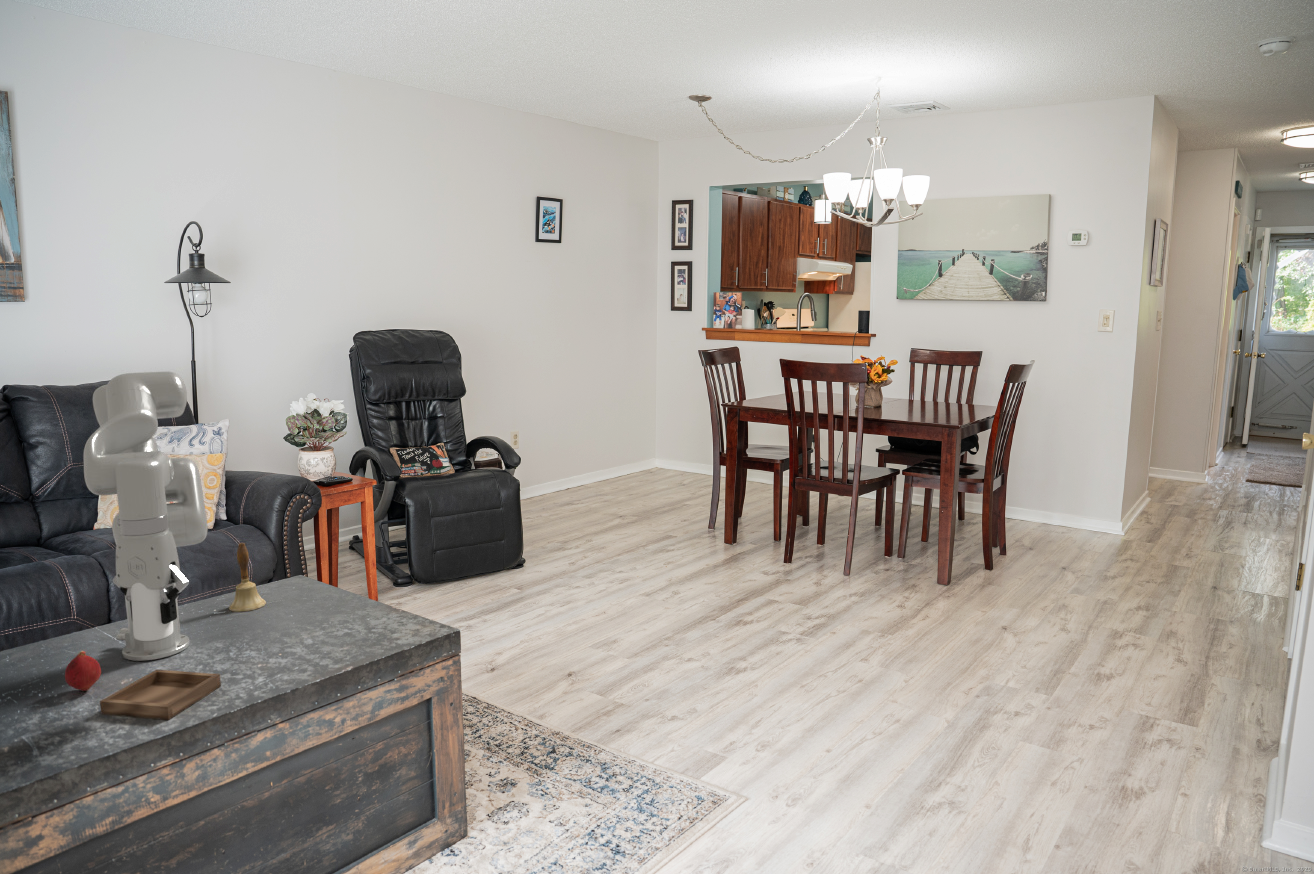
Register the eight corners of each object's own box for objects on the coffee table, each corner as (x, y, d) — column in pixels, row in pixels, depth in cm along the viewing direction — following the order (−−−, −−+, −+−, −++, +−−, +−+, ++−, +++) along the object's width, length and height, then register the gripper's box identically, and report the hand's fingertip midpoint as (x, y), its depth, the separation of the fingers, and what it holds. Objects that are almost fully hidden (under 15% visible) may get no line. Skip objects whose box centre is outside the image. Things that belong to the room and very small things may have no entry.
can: (154, 644, 160) (150, 582, 157) (125, 639, 161) (121, 577, 159) (181, 631, 166) (178, 571, 164) (153, 626, 167) (150, 566, 165)
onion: (76, 699, 166) (71, 659, 164) (61, 693, 169) (56, 653, 167) (108, 688, 170) (104, 649, 169) (93, 681, 173) (89, 643, 172)
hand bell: (221, 611, 213) (215, 547, 210) (242, 599, 221) (237, 538, 218) (252, 612, 211) (247, 548, 209) (273, 601, 219) (267, 539, 217)
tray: (101, 713, 160) (99, 701, 159) (157, 681, 173) (156, 669, 173) (168, 719, 157) (167, 706, 157) (220, 686, 171) (219, 674, 170)
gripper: (87, 529, 158) (98, 625, 161) (171, 532, 155) (181, 630, 157) (119, 519, 165) (129, 611, 168) (200, 522, 162) (209, 615, 165)
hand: (154, 619), depth 163 cm, fingers closed on can, 5 cm apart
